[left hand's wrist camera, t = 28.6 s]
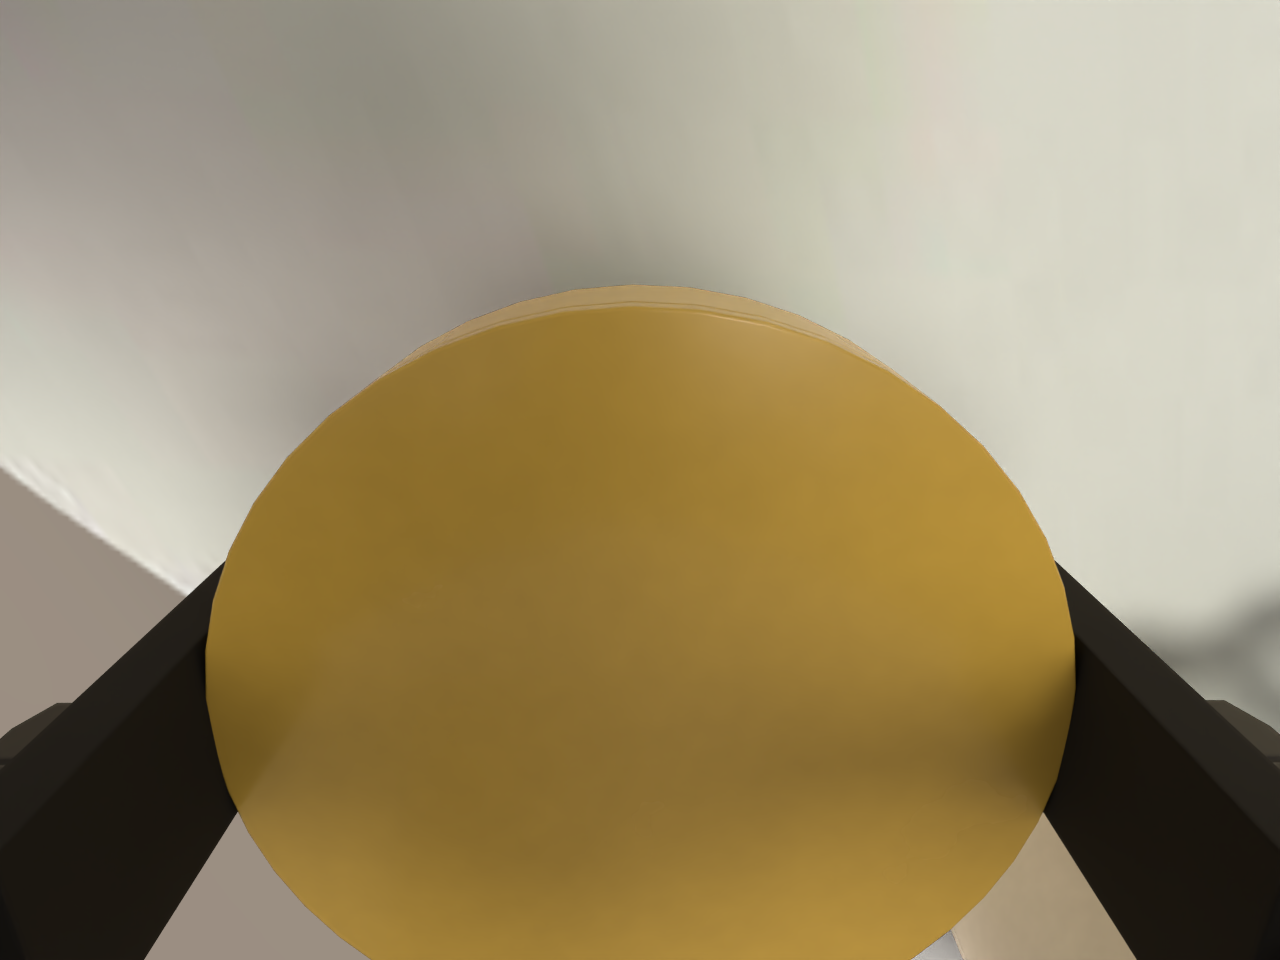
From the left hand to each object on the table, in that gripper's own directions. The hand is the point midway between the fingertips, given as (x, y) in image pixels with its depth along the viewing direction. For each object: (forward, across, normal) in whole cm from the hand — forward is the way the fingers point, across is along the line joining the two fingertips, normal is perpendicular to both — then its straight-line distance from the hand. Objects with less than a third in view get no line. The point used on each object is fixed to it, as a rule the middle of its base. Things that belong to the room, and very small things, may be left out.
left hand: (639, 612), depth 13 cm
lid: (-3, 0, 0) cm, 3 cm away
